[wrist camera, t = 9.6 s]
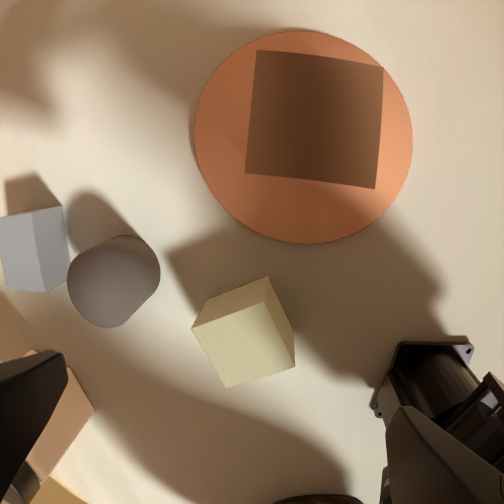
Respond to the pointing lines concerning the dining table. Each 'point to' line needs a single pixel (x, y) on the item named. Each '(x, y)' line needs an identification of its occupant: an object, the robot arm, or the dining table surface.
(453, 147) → the dining table surface
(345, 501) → the pitcher
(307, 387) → the dining table surface
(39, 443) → the jar
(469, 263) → the dining table surface
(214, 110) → the coaster
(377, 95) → the walnut block
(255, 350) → the sage cube
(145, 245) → the grey cylinder
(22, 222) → the plastic brick
